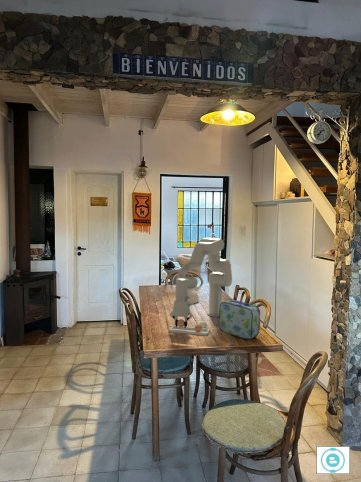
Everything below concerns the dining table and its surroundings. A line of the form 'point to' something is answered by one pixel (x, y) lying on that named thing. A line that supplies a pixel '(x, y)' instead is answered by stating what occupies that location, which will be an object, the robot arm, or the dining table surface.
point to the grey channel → (189, 330)
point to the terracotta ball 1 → (180, 323)
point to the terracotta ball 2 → (198, 328)
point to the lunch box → (239, 319)
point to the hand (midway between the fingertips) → (181, 326)
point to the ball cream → (203, 324)
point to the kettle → (193, 295)
